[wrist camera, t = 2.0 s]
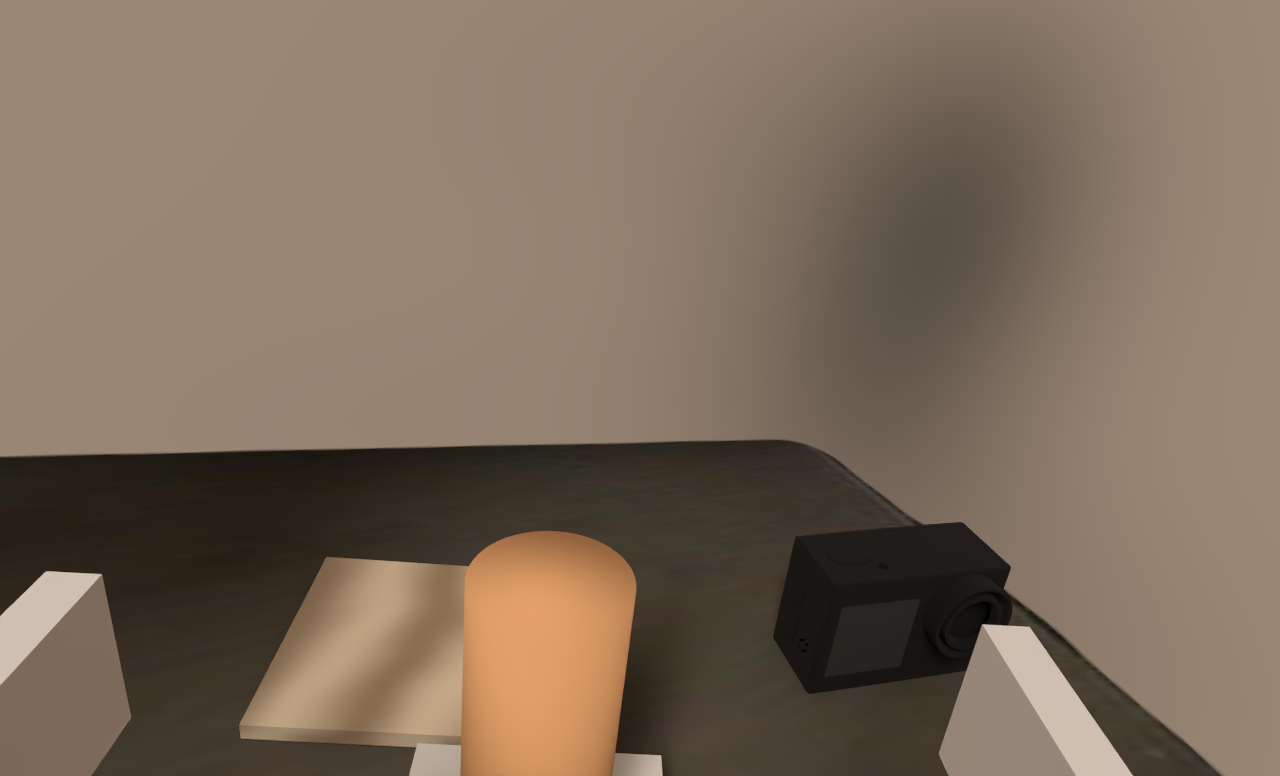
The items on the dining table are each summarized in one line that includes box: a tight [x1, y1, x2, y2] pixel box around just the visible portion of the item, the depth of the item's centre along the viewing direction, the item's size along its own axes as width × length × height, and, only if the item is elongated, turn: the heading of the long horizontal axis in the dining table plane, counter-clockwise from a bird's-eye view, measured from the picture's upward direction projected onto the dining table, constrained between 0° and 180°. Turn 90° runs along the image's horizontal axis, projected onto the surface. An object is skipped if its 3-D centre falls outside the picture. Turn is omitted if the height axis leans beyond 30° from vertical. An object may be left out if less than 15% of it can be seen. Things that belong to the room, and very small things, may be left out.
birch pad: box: [239, 557, 469, 747], centre depth 41 cm, size 12×12×1 cm
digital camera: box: [773, 522, 1012, 693], centre depth 43 cm, size 10×5×7 cm, turn 107°
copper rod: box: [460, 531, 636, 776], centre depth 27 cm, size 5×5×15 cm
